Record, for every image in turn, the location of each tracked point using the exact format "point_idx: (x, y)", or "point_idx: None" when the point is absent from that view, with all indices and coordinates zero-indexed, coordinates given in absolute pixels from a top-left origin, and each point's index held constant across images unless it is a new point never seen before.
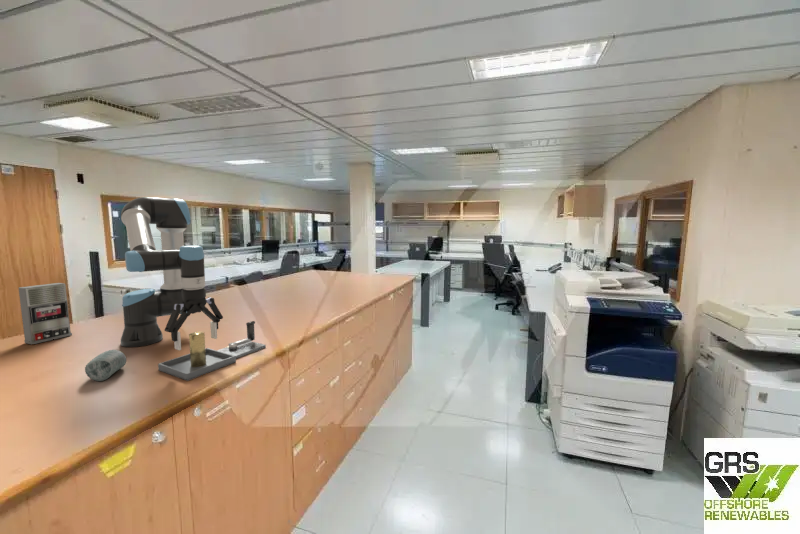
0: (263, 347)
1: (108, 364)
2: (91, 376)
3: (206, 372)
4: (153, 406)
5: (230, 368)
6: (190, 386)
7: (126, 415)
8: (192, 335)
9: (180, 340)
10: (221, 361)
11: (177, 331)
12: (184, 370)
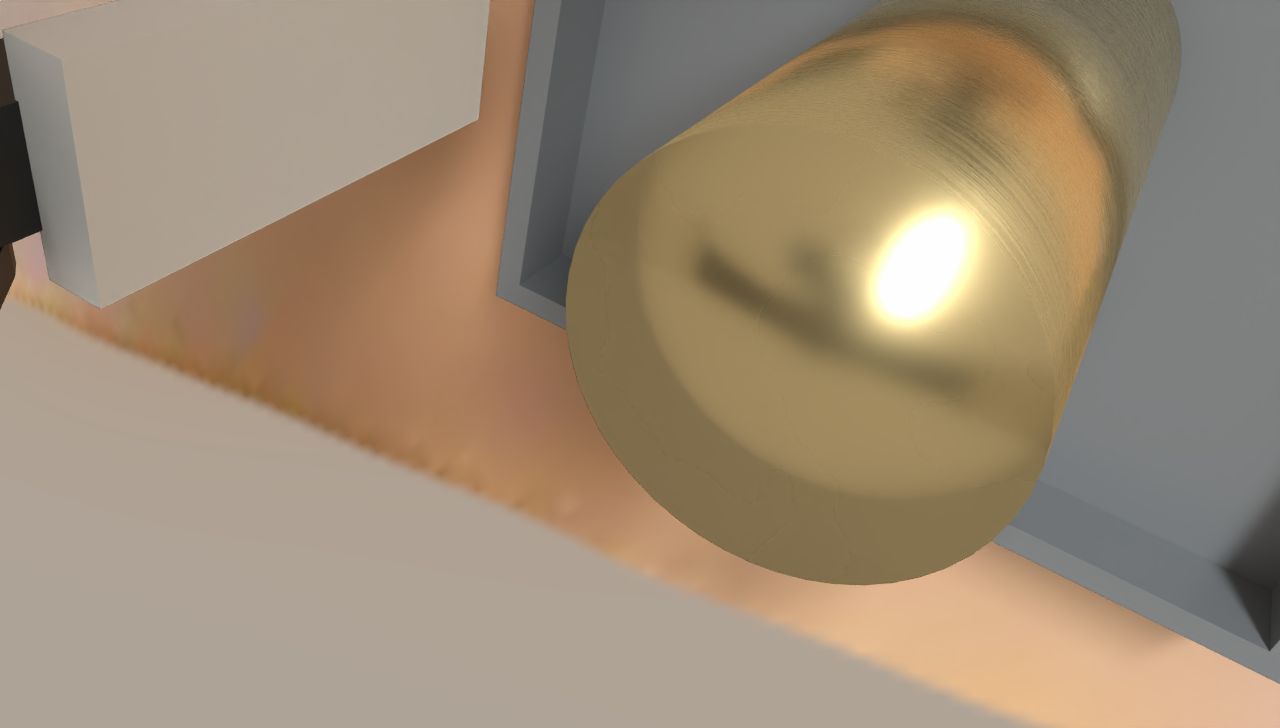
0: None
1: None
2: None
3: None
4: (172, 280)
5: (1005, 597)
6: (480, 367)
7: None
8: (601, 347)
9: (311, 196)
10: (994, 538)
11: (5, 284)
12: (746, 6)
